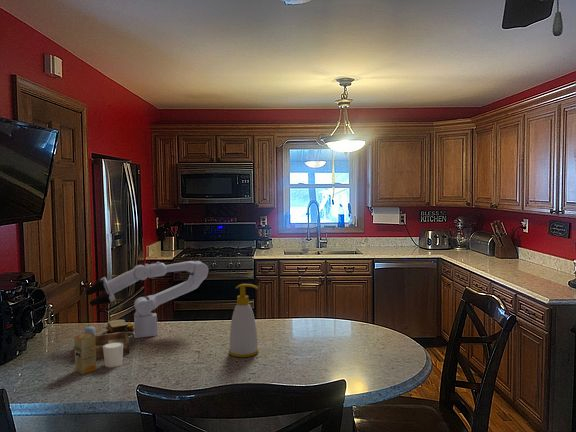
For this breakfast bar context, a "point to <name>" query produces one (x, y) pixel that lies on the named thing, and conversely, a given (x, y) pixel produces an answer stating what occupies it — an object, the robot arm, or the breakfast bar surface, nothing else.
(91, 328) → the peg
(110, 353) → the white cup
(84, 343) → the shoe polish box
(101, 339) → the box with square hole
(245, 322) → the soap bottle
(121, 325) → the toy sandwich meal
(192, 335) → the breakfast bar surface
